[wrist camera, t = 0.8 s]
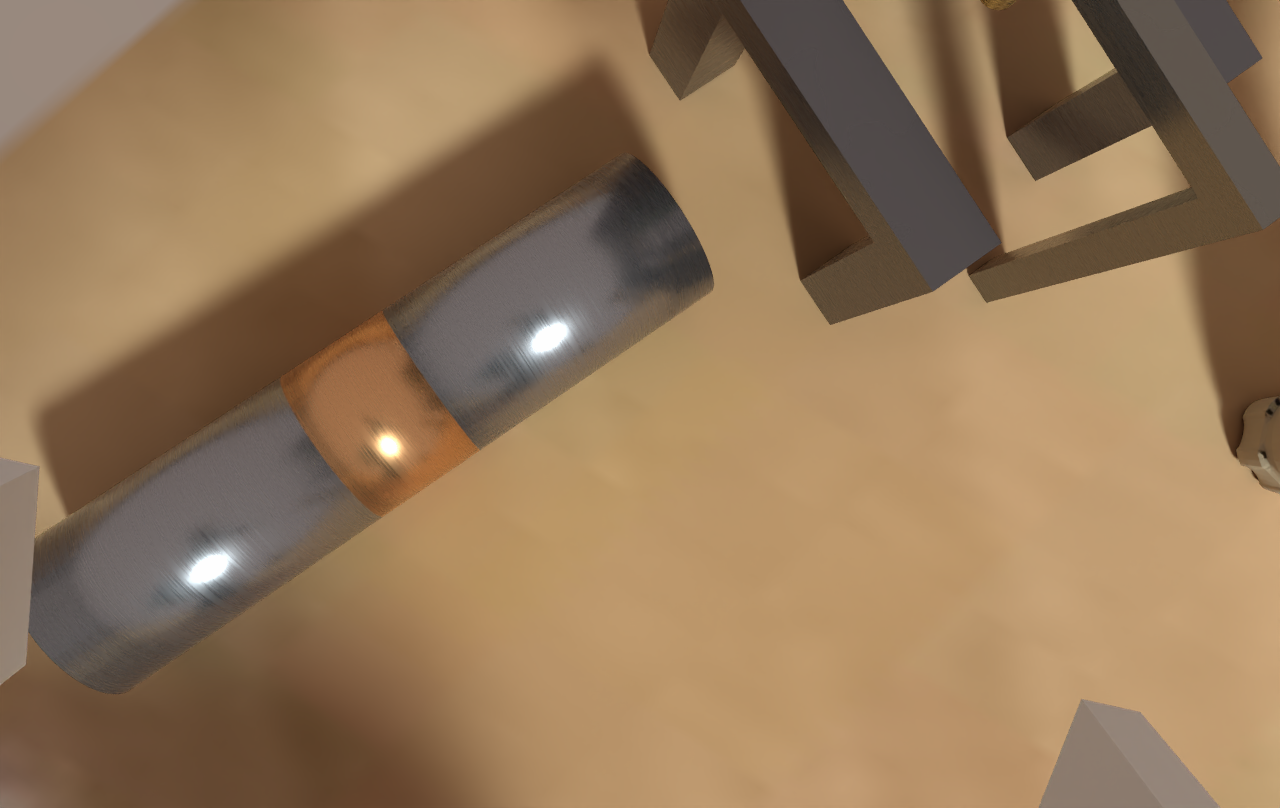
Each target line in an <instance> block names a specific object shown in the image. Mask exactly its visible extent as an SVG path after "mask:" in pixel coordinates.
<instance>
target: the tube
mask: <svg viewBox="0 0 1280 808" xmlns="http://www.w3.org/2000/svg"><path fill="white" fill-rule="evenodd" d="M713 287H714V281H713V275H712V271H711V268H710V265H709V262H708V259H707V257H706V254H705V252H704V250H703V248H702V246H701V244H700V242H699V240H698V238H697V236H696V234H695V232H694V230H693V228H692V227H691V225H690V223H689V222H688V220H687V218H686V217H685V215H684V214H683V212H682V210H681V209H680V207H679V206H678V204H677V203H676V202H675V200H674V199H673V197H672V196H671V195H670V193H669V192H668V191H667V189H666V188H665V187H664V185H663V184H662V183H661V182H660V181H659V179H658V178H657V177H656V176H655V175H654V174H653V173H652V172H651V171H650V170H649V168H648V167H646V166H645V165H644V164H643V163H642V162H641V161H640V160H638V159H637V158H636V157H634V156H633V155H631V154H628V153H622V154H620V155H619V156H617V157H616V158H614V159H612V160H611V161H609V162H608V163H606V164H605V165H603V166H602V167H600V168H599V169H597V170H596V171H594V172H593V173H591V174H590V175H588V176H587V177H585V178H584V179H582V180H580V181H579V182H577V183H576V184H574V185H573V186H571V187H570V188H568V189H567V190H565V191H564V192H562V193H561V194H559V195H558V196H556V197H555V198H553V199H551V200H550V201H548V202H547V203H545V204H544V205H542V206H541V207H539V208H538V209H536V210H535V211H533V212H532V213H530V214H529V215H527V216H526V217H524V218H522V219H521V220H519V221H518V222H516V223H515V224H513V225H512V226H510V227H509V228H507V229H506V230H504V231H503V232H501V233H500V234H498V235H497V236H495V237H494V238H492V239H490V240H489V241H487V242H486V243H484V244H483V245H481V246H480V247H478V248H477V249H475V250H474V251H472V252H471V253H469V254H468V255H466V256H465V257H463V258H461V259H460V260H458V261H457V262H455V263H454V264H452V265H451V266H449V267H448V268H446V269H445V270H443V271H442V272H440V273H439V274H437V275H436V276H434V277H432V278H431V279H429V280H428V281H426V282H425V283H423V284H422V285H420V286H419V287H417V288H416V289H414V290H413V291H411V292H410V293H408V294H407V295H405V296H404V297H402V298H400V299H399V300H397V301H396V302H394V303H393V304H391V305H390V306H388V307H387V308H385V309H384V310H382V311H381V312H379V313H378V314H376V315H375V316H373V317H371V318H370V319H368V320H367V321H365V322H364V323H362V324H361V325H359V326H358V327H356V328H355V329H353V330H352V331H350V332H349V333H347V334H346V335H344V336H342V337H341V338H339V339H338V340H336V341H335V342H333V343H332V344H330V345H329V346H327V347H326V348H324V349H323V350H321V351H320V352H318V353H317V354H315V355H314V356H312V357H310V358H309V359H307V360H306V361H304V362H303V363H301V364H300V365H298V366H297V367H295V368H294V369H292V370H291V371H289V372H288V373H286V374H285V375H283V376H281V377H280V378H278V379H277V380H275V381H274V382H272V383H271V384H269V385H268V386H266V387H265V388H263V389H262V390H260V391H259V392H257V393H256V394H254V395H253V396H251V397H249V398H248V399H246V400H245V401H243V402H242V403H240V404H239V405H237V406H236V407H234V408H233V409H231V410H230V411H228V412H227V413H225V414H224V415H222V416H220V417H219V418H217V419H216V420H214V421H213V422H211V423H210V424H208V425H207V426H205V427H204V428H202V429H201V430H199V431H198V432H196V433H195V434H193V435H191V436H190V437H188V438H187V439H185V440H184V441H182V442H181V443H179V444H178V445H176V446H175V447H173V448H172V449H170V450H169V451H167V452H166V453H164V454H163V455H161V456H159V457H158V458H156V459H155V460H153V461H152V462H150V463H149V464H147V465H146V466H144V467H143V468H141V469H140V470H138V471H137V472H135V473H134V474H132V475H130V476H129V477H127V478H126V479H124V480H123V481H121V482H120V483H118V484H117V485H115V486H114V487H112V488H111V489H109V490H108V491H106V492H105V493H103V494H101V495H100V496H98V497H97V498H95V499H94V500H92V501H91V502H89V503H88V504H86V505H85V506H83V507H82V508H80V509H79V510H77V511H76V512H74V513H73V514H71V515H69V516H68V517H66V518H65V519H63V520H62V521H60V522H59V523H57V524H56V525H54V526H53V527H51V528H50V529H48V530H47V531H45V532H44V533H42V534H40V535H39V536H37V537H36V538H35V540H34V554H33V569H32V584H31V599H30V613H29V628H28V632H29V633H30V635H31V636H32V638H33V639H34V640H35V642H36V643H37V644H38V645H39V647H40V648H41V649H42V650H43V651H44V652H45V653H46V654H47V656H48V657H49V658H50V659H51V660H52V661H53V662H54V663H55V664H57V665H58V666H59V667H60V668H61V669H62V670H63V671H65V672H66V673H67V674H68V675H70V676H71V677H73V678H74V679H76V680H77V681H79V682H80V683H82V684H84V685H86V686H88V687H90V688H92V689H94V690H97V691H100V692H103V693H108V694H121V693H125V692H127V691H129V690H131V689H132V688H134V687H135V686H136V685H138V684H139V683H141V682H142V681H144V680H145V679H147V678H148V677H150V676H151V675H152V674H154V673H155V672H157V671H158V670H160V669H161V668H163V667H164V666H166V665H167V664H169V663H170V662H171V661H173V660H174V659H176V658H177V657H179V656H180V655H182V654H183V653H185V652H186V651H188V650H189V649H190V648H192V647H193V646H195V645H196V644H198V643H199V642H201V641H202V640H204V639H205V638H207V637H208V636H209V635H211V634H212V633H214V632H215V631H217V630H218V629H220V628H221V627H223V626H224V625H226V624H227V623H228V622H230V621H231V620H233V619H234V618H236V617H237V616H239V615H240V614H242V613H243V612H244V611H246V610H247V609H249V608H250V607H252V606H253V605H255V604H256V603H258V602H259V601H261V600H262V599H263V598H265V597H266V596H268V595H269V594H271V593H272V592H274V591H275V590H277V589H278V588H280V587H281V586H282V585H284V584H285V583H287V582H288V581H290V580H291V579H293V578H294V577H296V576H297V575H299V574H300V573H301V572H303V571H304V570H306V569H307V568H309V567H310V566H312V565H313V564H315V563H316V562H318V561H319V560H320V559H322V558H323V557H325V556H326V555H328V554H329V553H331V552H332V551H334V550H335V549H336V548H338V547H339V546H341V545H342V544H344V543H345V542H347V541H348V540H350V539H351V538H353V537H354V536H355V535H357V534H358V533H360V532H361V531H363V530H364V529H366V528H367V527H369V526H370V525H372V524H373V523H374V522H376V521H377V520H379V519H380V518H382V517H383V516H385V515H386V514H388V513H389V512H391V511H392V510H393V509H395V508H396V507H398V506H399V505H401V504H402V503H404V502H405V501H407V500H408V499H410V498H411V497H412V496H414V495H415V494H417V493H418V492H420V491H421V490H423V489H424V488H426V487H427V486H429V485H430V484H431V483H433V482H434V481H436V480H437V479H439V478H440V477H442V476H443V475H445V474H446V473H447V472H449V471H450V470H452V469H453V468H455V467H456V466H458V465H459V464H461V463H462V462H464V461H465V460H466V459H468V458H469V457H471V456H472V455H474V454H475V453H477V452H478V451H480V450H481V449H483V448H484V447H485V446H487V445H488V444H490V443H491V442H493V441H494V440H496V439H497V438H499V437H500V436H502V435H503V434H504V433H506V432H507V431H509V430H510V429H512V428H513V427H515V426H516V425H518V424H519V423H521V422H522V421H523V420H525V419H526V418H528V417H529V416H531V415H532V414H534V413H535V412H537V411H538V410H539V409H541V408H542V407H544V406H545V405H547V404H548V403H550V402H551V401H553V400H554V399H556V398H557V397H558V396H560V395H561V394H563V393H564V392H566V391H567V390H569V389H570V388H572V387H573V386H575V385H576V384H577V383H579V382H580V381H582V380H583V379H585V378H586V377H588V376H589V375H591V374H592V373H594V372H595V371H596V370H598V369H599V368H601V367H602V366H604V365H605V364H607V363H608V362H610V361H611V360H613V359H614V358H615V357H617V356H618V355H620V354H621V353H623V352H624V351H626V350H627V349H629V348H630V347H631V346H633V345H634V344H636V343H637V342H639V341H640V340H642V339H643V338H645V337H646V336H648V335H649V334H650V333H652V332H653V331H655V330H656V329H658V328H659V327H661V326H662V325H664V324H665V323H667V322H668V321H669V320H671V319H672V318H674V317H675V316H677V315H678V314H680V313H681V312H683V311H684V310H686V309H687V308H688V307H690V306H691V305H693V304H694V303H696V302H697V301H699V300H700V299H702V298H703V297H705V296H706V295H707V294H709V293H710V292H711V291H712V290H713Z"/></svg>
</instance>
